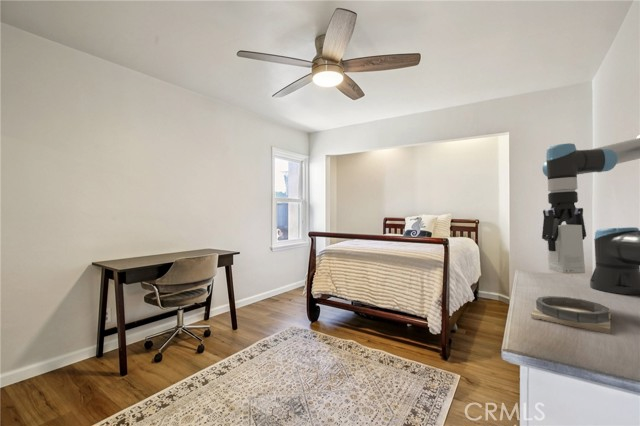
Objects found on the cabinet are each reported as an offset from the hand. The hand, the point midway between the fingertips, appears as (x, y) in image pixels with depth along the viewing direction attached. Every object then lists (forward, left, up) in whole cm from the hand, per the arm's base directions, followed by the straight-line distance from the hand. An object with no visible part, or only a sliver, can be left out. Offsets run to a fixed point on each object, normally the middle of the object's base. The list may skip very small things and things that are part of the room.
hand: (565, 259), depth 96 cm
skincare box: (0, 0, -4) cm, 4 cm away
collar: (+12, +11, -14) cm, 22 cm away
